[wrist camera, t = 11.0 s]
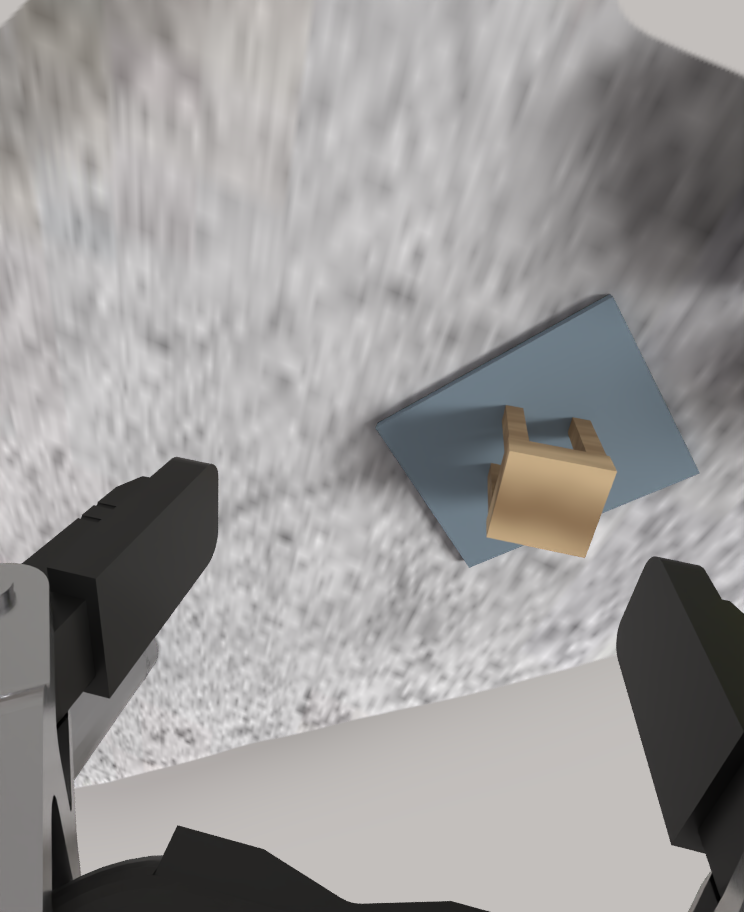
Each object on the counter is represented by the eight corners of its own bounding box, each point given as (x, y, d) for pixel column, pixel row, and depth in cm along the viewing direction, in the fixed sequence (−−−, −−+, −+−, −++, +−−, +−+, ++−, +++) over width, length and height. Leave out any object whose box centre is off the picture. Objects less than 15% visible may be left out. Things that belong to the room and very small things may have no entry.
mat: (469, 560, 46) (469, 567, 45) (377, 423, 42) (375, 428, 42) (694, 466, 40) (699, 473, 39) (609, 294, 36) (612, 296, 35)
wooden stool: (504, 403, 39) (509, 450, 32) (592, 419, 38) (617, 471, 31) (485, 478, 42) (486, 537, 35) (567, 494, 41) (585, 557, 34)
